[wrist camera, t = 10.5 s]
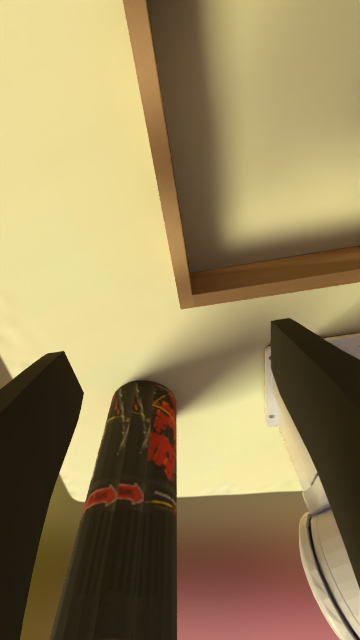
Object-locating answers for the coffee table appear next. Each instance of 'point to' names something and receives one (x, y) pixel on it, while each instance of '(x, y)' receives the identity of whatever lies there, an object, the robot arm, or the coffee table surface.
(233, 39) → the coffee table surface
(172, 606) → the deodorant
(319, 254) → the open pen
